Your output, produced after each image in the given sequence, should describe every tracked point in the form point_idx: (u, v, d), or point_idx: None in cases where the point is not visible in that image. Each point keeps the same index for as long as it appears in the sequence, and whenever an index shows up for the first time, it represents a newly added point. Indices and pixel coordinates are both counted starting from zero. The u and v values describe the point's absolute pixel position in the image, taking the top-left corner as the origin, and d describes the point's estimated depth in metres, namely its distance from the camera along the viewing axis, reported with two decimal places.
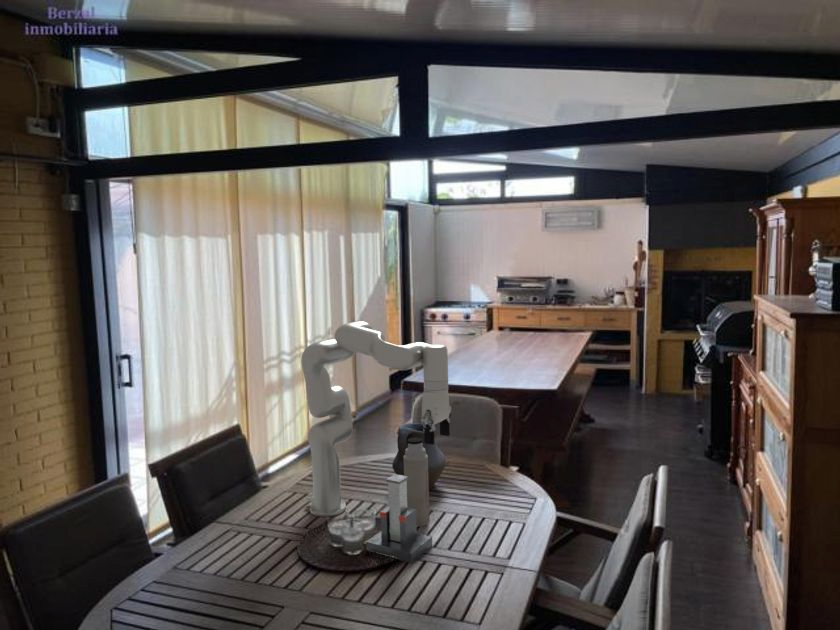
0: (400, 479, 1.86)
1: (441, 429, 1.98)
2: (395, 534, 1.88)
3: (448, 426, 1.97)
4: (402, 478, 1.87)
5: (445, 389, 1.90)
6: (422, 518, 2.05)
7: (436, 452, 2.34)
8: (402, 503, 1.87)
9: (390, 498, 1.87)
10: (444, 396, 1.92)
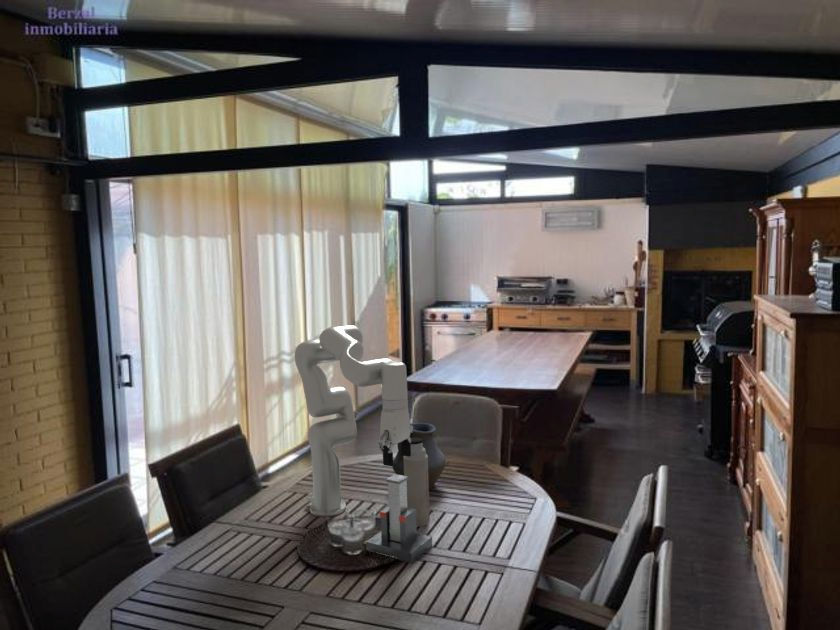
0: (400, 479, 1.86)
1: (402, 449, 1.91)
2: (395, 534, 1.88)
3: (409, 446, 1.90)
4: (402, 478, 1.87)
5: (404, 408, 1.83)
6: (422, 518, 2.05)
7: (436, 452, 2.34)
8: (402, 503, 1.87)
9: (390, 498, 1.87)
10: (403, 415, 1.85)
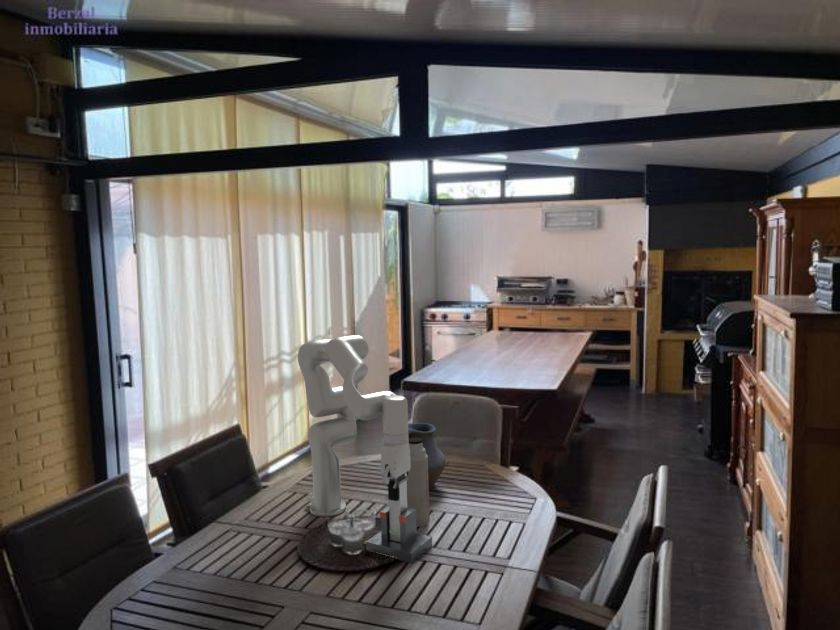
0: (400, 479, 1.86)
1: None
2: (395, 535, 1.88)
3: None
4: (402, 478, 1.87)
5: (405, 442, 1.84)
6: (422, 518, 2.05)
7: (436, 452, 2.34)
8: (402, 503, 1.87)
9: None
10: (404, 449, 1.86)
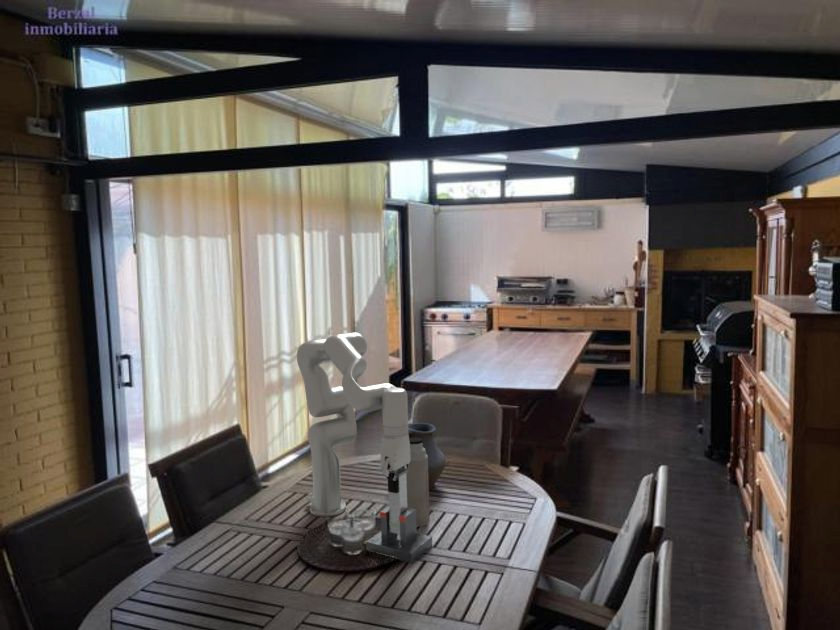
0: (400, 471, 1.86)
1: None
2: (395, 527, 1.87)
3: None
4: (402, 470, 1.87)
5: (404, 435, 1.84)
6: (422, 518, 2.05)
7: (436, 452, 2.34)
8: (402, 496, 1.87)
9: None
10: (404, 441, 1.86)
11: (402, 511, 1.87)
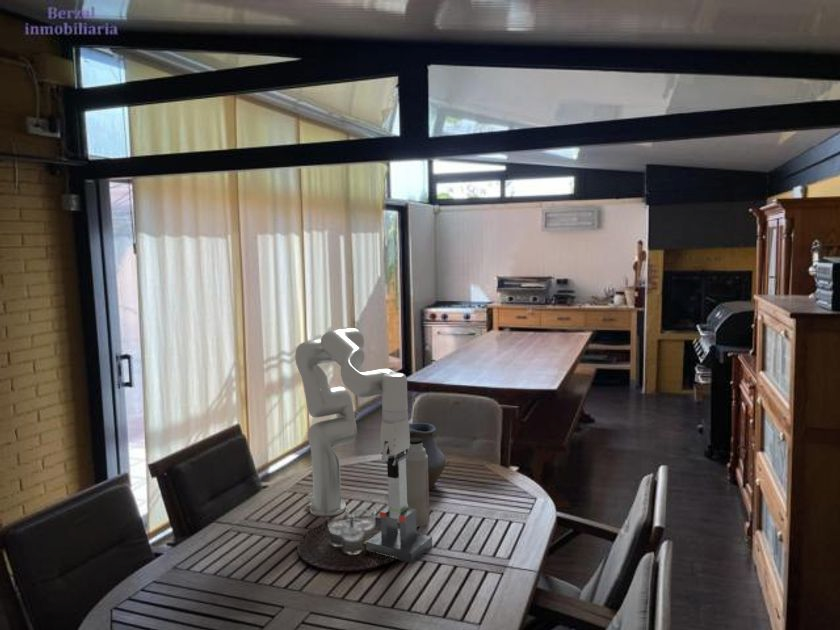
0: (399, 456, 1.86)
1: None
2: (394, 512, 1.87)
3: None
4: (401, 456, 1.86)
5: (404, 419, 1.83)
6: (422, 518, 2.05)
7: (436, 452, 2.34)
8: (401, 481, 1.86)
9: None
10: (403, 426, 1.85)
11: (402, 496, 1.87)
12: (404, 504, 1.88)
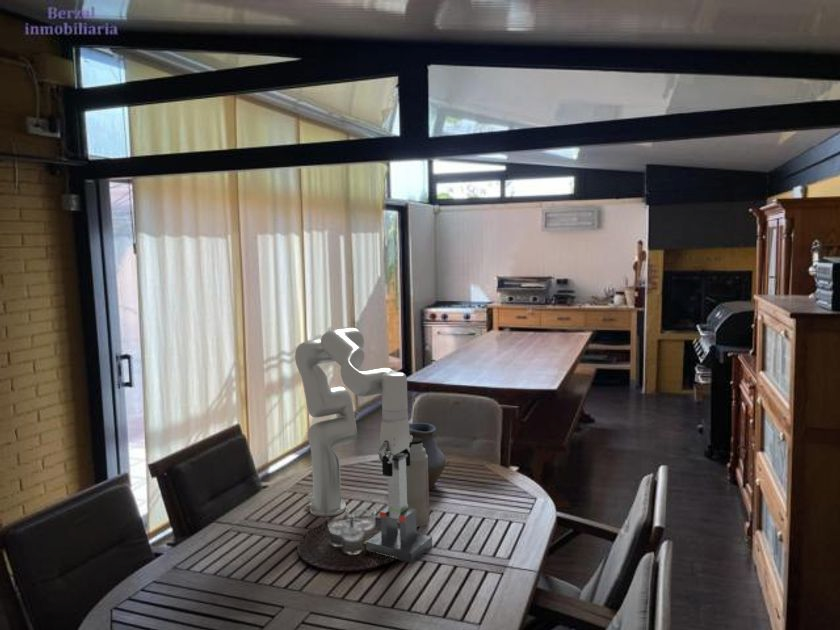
0: (399, 456, 1.86)
1: None
2: (394, 512, 1.87)
3: (408, 456, 1.91)
4: (401, 455, 1.86)
5: (404, 419, 1.83)
6: (422, 518, 2.05)
7: (436, 452, 2.34)
8: (401, 481, 1.86)
9: None
10: (403, 426, 1.85)
11: (402, 496, 1.87)
12: (404, 504, 1.88)
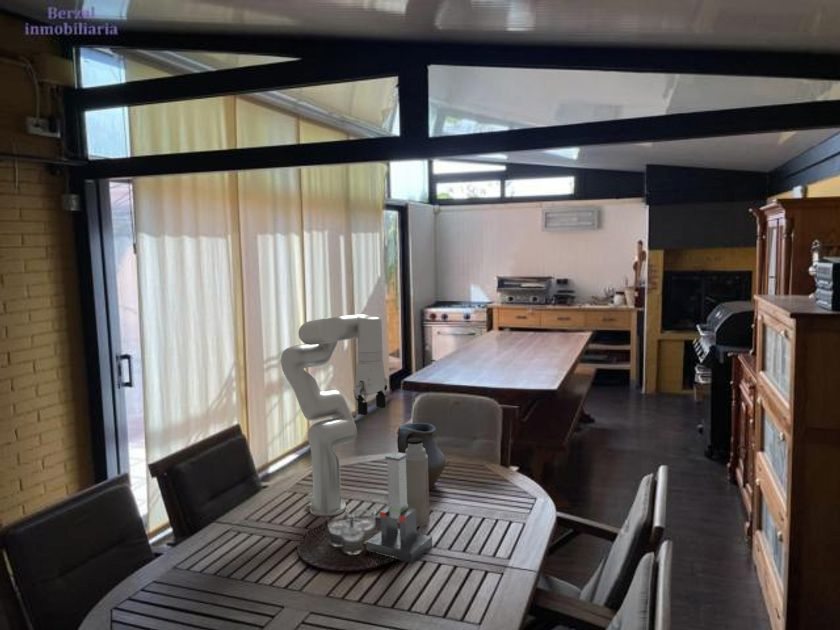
0: (399, 456, 1.86)
1: (377, 401, 2.00)
2: (394, 512, 1.87)
3: (384, 398, 1.99)
4: (401, 455, 1.86)
5: (378, 360, 1.92)
6: (422, 518, 2.05)
7: (436, 452, 2.34)
8: (401, 481, 1.86)
9: (389, 475, 1.87)
10: (378, 368, 1.94)
11: (402, 496, 1.87)
12: (404, 504, 1.88)
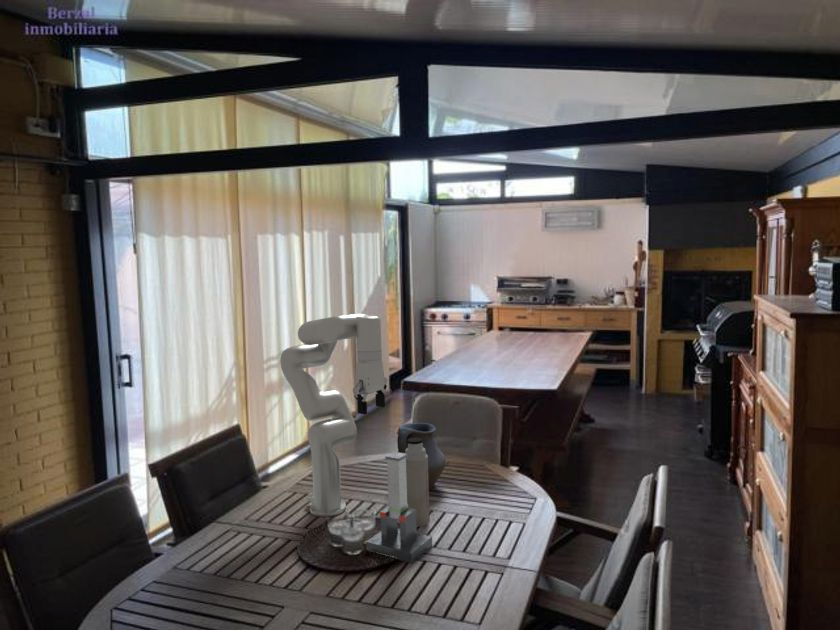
0: (399, 456, 1.86)
1: (377, 400, 2.00)
2: (394, 512, 1.87)
3: (383, 397, 1.99)
4: (401, 455, 1.86)
5: (378, 360, 1.92)
6: (422, 518, 2.05)
7: (436, 452, 2.34)
8: (401, 481, 1.86)
9: (389, 475, 1.87)
10: (377, 367, 1.94)
11: (402, 496, 1.87)
12: (404, 504, 1.88)
